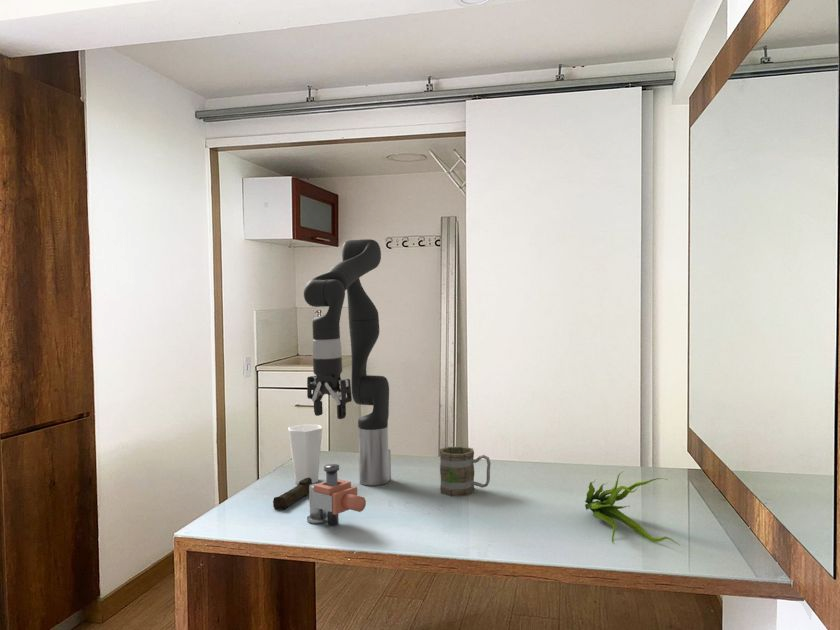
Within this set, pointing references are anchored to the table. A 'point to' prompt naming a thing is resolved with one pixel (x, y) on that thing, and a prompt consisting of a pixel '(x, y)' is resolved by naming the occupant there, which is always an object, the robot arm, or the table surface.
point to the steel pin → (332, 481)
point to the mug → (459, 471)
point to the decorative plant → (615, 507)
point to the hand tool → (292, 494)
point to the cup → (305, 451)
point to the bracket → (342, 496)
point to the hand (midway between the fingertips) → (329, 416)
